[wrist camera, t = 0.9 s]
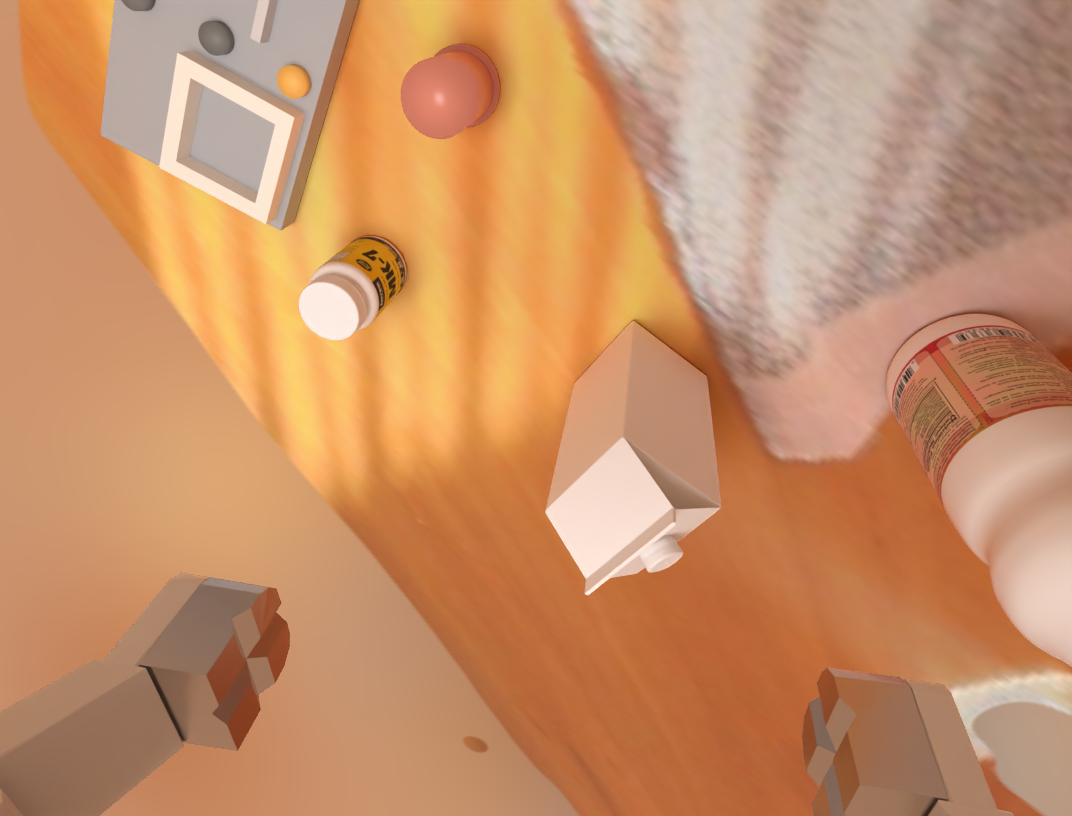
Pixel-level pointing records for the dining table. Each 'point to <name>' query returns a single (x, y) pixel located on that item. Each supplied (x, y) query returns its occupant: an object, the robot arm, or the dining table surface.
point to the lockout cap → (450, 91)
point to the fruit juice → (997, 458)
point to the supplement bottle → (352, 288)
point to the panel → (227, 93)
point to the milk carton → (634, 460)
